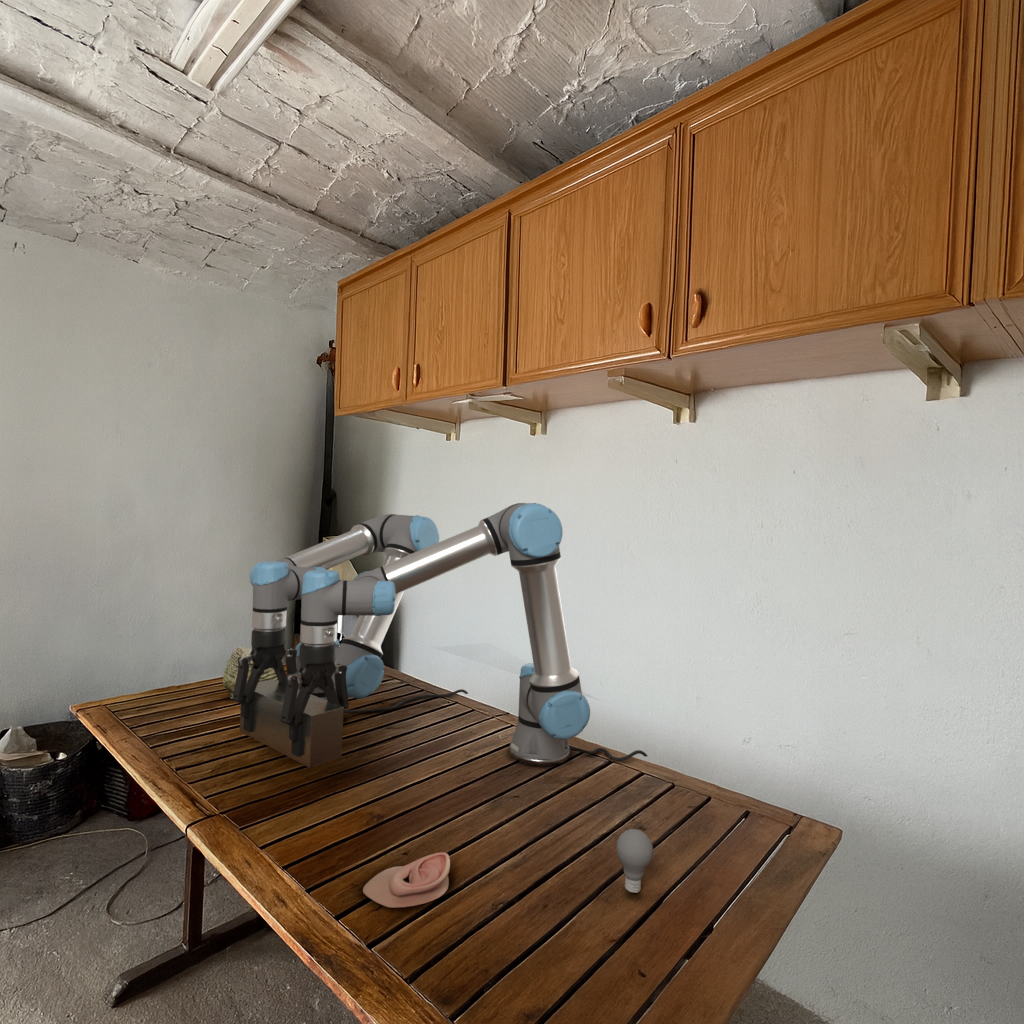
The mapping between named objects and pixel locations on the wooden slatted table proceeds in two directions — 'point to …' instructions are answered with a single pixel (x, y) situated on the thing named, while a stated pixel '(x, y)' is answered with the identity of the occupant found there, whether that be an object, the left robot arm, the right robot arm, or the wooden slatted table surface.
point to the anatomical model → (411, 882)
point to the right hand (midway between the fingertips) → (314, 748)
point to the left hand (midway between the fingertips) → (265, 725)
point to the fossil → (233, 667)
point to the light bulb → (634, 857)
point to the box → (317, 722)
